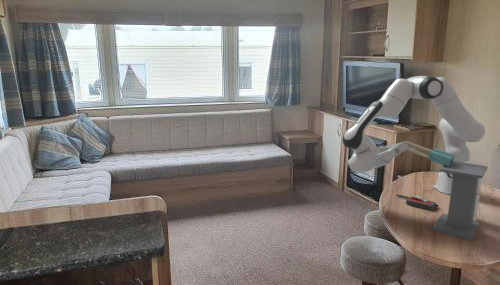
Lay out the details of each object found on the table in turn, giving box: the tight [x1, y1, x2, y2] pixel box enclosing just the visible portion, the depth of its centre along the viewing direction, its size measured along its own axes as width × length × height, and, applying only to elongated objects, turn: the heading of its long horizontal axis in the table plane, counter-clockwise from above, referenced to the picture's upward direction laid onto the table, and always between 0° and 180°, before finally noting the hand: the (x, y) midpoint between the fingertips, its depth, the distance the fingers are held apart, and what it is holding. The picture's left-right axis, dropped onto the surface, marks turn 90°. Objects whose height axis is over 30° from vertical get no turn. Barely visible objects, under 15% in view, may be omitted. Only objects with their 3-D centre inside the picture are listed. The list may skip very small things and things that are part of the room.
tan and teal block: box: [402, 140, 455, 167], centre depth 158 cm, size 8×20×4 cm, turn 52°
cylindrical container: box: [465, 160, 485, 221], centre depth 162 cm, size 7×7×25 cm
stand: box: [433, 161, 488, 241], centre depth 152 cm, size 16×14×26 cm
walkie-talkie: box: [395, 193, 439, 212], centre depth 181 cm, size 9×4×20 cm
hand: (410, 144), depth 162 cm, fingers closed on tan and teal block, 3 cm apart
